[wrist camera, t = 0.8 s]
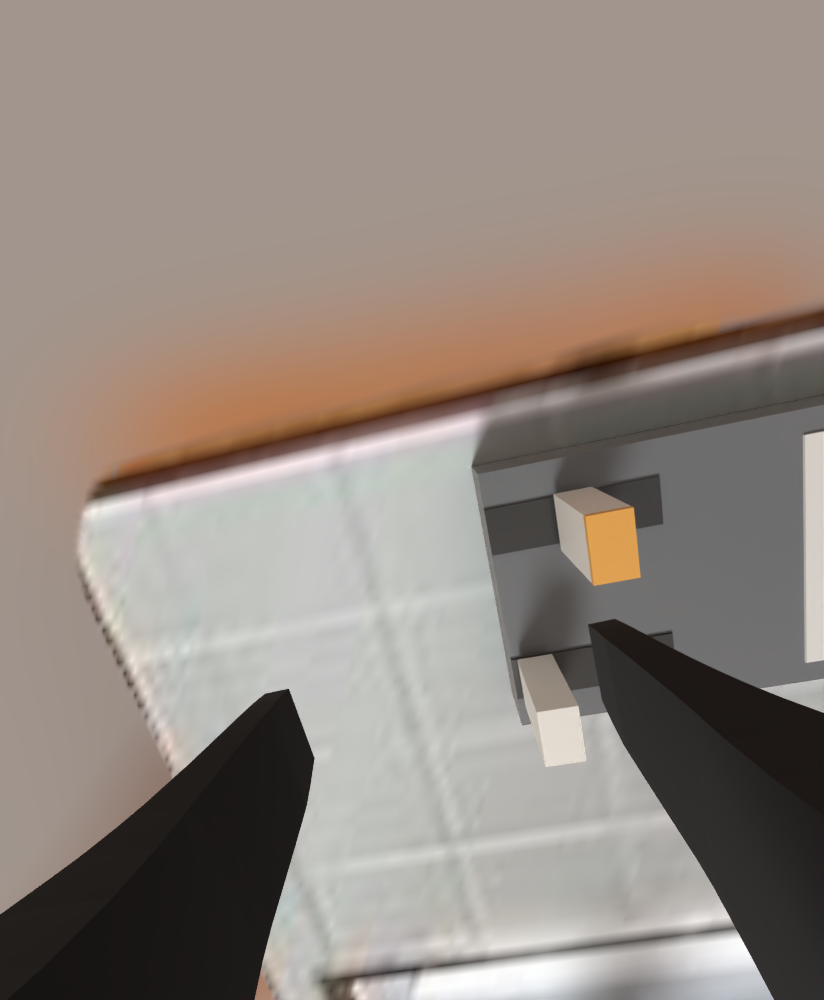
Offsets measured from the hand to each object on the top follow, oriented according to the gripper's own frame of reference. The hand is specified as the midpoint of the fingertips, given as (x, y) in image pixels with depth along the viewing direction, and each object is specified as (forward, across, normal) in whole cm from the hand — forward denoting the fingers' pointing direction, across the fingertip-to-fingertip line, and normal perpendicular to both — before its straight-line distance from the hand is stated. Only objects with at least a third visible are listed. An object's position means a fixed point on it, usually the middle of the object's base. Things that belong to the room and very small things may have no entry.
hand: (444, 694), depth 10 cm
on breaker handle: (+8, -3, +6) cm, 10 cm away
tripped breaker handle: (+8, -6, -1) cm, 10 cm away
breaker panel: (+10, -10, +3) cm, 15 cm away
